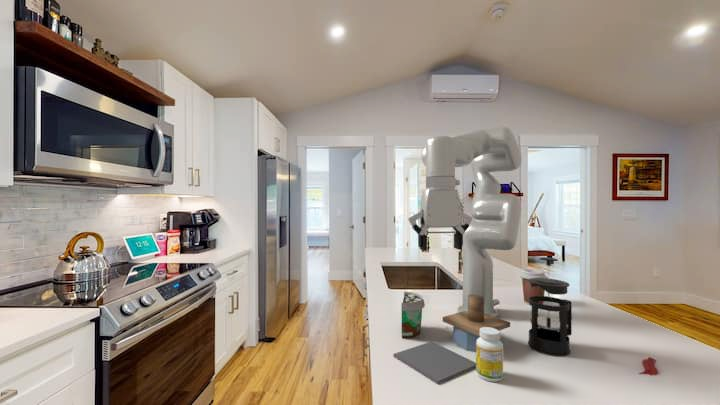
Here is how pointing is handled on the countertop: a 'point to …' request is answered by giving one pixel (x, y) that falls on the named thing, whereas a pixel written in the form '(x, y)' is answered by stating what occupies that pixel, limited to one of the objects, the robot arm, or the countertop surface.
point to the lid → (475, 317)
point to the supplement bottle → (489, 355)
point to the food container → (411, 314)
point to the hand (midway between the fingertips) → (440, 249)
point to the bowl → (464, 339)
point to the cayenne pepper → (649, 366)
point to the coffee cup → (527, 288)
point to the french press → (546, 329)
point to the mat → (435, 361)
